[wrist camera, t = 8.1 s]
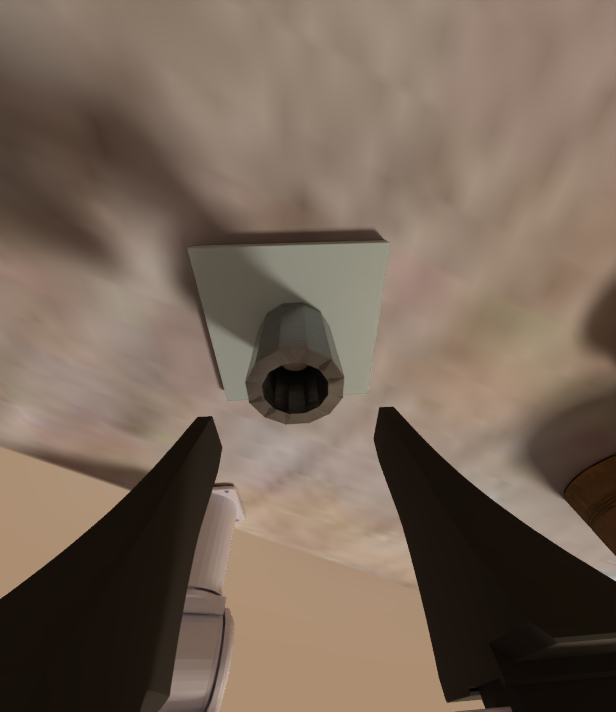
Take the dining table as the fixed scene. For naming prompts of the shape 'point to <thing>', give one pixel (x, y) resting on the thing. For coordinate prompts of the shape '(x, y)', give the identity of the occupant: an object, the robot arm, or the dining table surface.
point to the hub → (294, 345)
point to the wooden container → (597, 499)
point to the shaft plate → (291, 300)
